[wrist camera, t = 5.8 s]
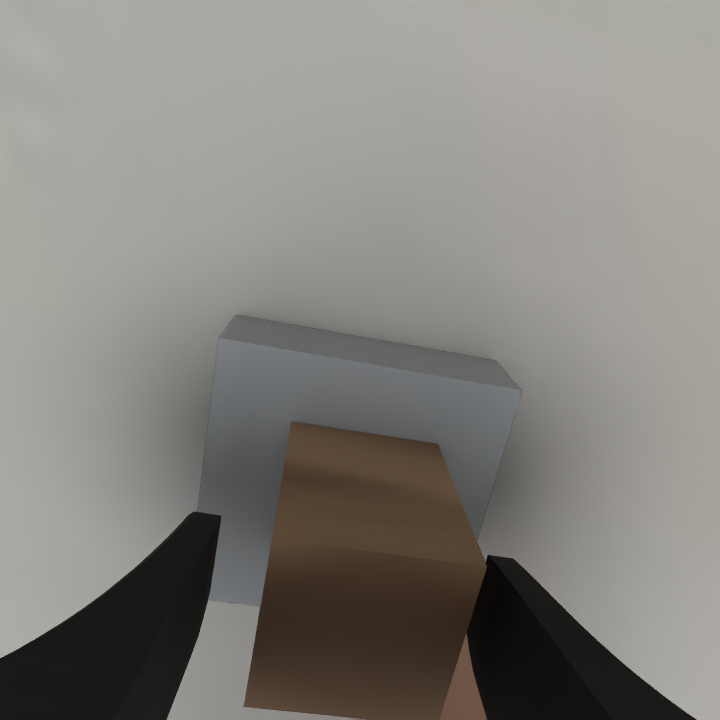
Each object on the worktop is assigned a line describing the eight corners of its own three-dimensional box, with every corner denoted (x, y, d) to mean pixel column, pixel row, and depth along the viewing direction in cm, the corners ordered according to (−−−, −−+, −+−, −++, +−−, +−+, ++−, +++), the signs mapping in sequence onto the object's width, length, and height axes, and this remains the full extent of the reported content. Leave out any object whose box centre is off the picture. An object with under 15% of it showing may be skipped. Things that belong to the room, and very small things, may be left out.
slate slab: (433, 565, 20) (449, 630, 17) (208, 535, 19) (186, 597, 16) (491, 356, 18) (522, 390, 15) (238, 311, 17) (218, 338, 14)
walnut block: (406, 565, 16) (437, 725, 11) (270, 547, 16) (243, 706, 11) (438, 444, 15) (487, 566, 10) (291, 421, 15) (271, 538, 10)
